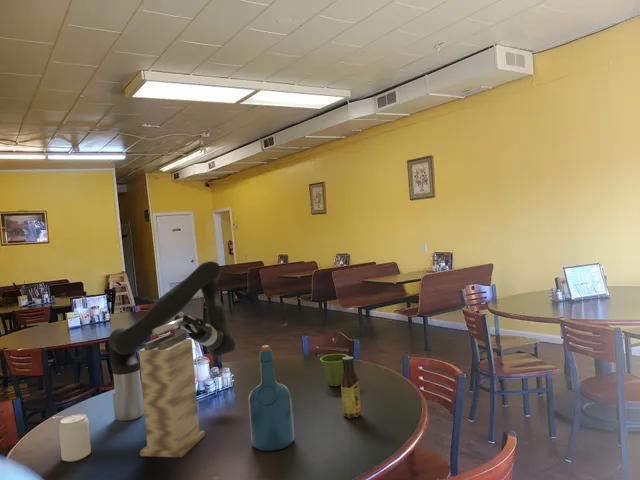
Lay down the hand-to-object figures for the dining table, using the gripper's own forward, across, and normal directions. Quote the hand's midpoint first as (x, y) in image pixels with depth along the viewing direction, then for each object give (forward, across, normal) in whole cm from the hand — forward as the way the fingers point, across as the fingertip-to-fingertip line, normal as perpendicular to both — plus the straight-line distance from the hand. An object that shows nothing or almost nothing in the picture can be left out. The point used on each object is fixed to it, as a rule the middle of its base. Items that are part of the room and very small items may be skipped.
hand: (180, 317), depth 157 cm
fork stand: (-11, 0, +38) cm, 40 cm away
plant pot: (-61, +41, +10) cm, 74 cm away
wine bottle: (-14, +32, +37) cm, 51 cm away
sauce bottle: (-33, +53, +26) cm, 68 cm away
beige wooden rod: (+2, 0, +5) cm, 5 cm away
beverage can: (-3, -28, +43) cm, 52 cm away
